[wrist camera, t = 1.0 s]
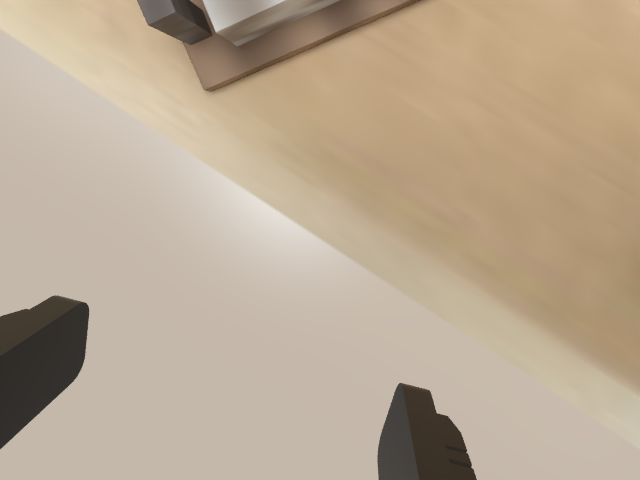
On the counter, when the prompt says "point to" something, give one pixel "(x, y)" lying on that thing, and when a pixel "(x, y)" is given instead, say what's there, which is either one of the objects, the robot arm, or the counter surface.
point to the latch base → (281, 42)
